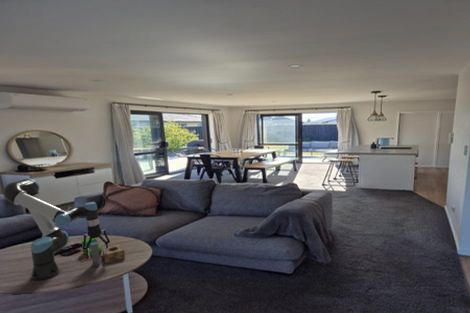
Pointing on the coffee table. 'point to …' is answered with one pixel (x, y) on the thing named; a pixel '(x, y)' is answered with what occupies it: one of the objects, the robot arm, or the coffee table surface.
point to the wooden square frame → (113, 253)
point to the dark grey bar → (95, 253)
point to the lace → (89, 259)
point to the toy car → (90, 246)
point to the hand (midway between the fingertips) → (98, 255)
